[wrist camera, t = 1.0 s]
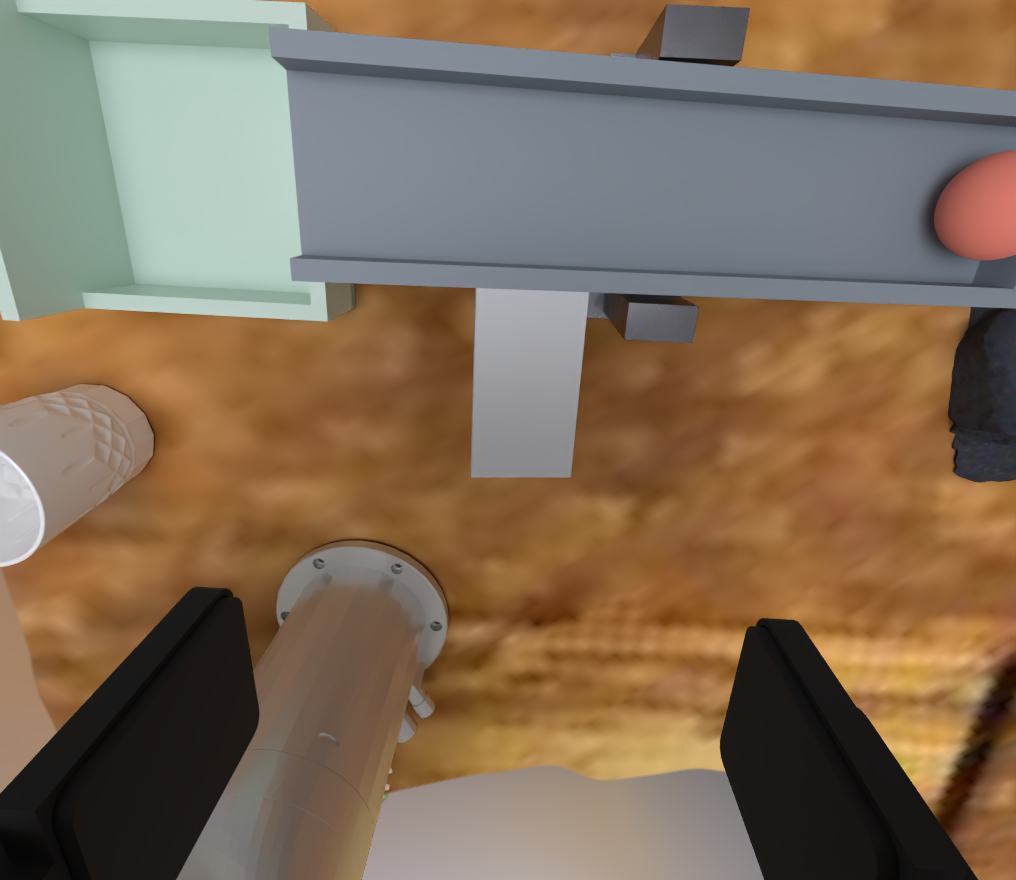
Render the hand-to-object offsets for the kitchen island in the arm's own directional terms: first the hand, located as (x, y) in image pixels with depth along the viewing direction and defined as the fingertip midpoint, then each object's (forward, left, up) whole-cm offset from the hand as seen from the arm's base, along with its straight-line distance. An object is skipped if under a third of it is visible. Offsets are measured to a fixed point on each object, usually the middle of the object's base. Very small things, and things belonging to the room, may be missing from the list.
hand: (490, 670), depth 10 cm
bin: (+16, +10, -26) cm, 32 cm away
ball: (-2, -20, -17) cm, 27 cm away
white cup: (+8, +27, -26) cm, 39 cm away
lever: (+1, -7, -21) cm, 22 cm away
